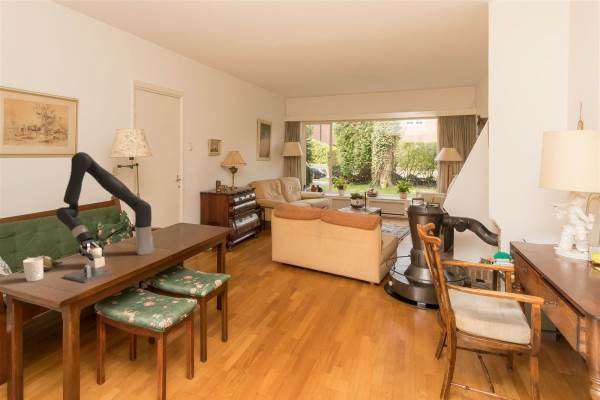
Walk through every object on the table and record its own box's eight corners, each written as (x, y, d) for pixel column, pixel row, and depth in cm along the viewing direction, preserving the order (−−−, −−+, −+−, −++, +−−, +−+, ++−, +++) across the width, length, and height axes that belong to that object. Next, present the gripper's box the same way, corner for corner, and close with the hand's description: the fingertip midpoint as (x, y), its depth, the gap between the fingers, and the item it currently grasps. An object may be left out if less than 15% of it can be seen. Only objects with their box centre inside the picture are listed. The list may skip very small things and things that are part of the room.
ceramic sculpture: (32, 251, 184) (63, 251, 187) (32, 266, 185) (63, 266, 188) (20, 257, 173) (53, 257, 177) (21, 273, 174) (54, 273, 178)
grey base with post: (90, 269, 182) (89, 258, 181) (111, 273, 176) (110, 262, 175) (63, 277, 169) (62, 266, 168) (85, 282, 163) (84, 270, 162)
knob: (98, 264, 191) (96, 246, 189) (104, 265, 189) (103, 247, 187) (88, 267, 186) (87, 248, 184) (95, 268, 183) (94, 249, 182)
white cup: (28, 277, 169) (26, 258, 168) (47, 275, 172) (45, 256, 171) (21, 282, 162) (19, 262, 161) (41, 281, 165) (39, 261, 163)
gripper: (72, 233, 181) (88, 258, 178) (97, 228, 194) (113, 251, 191) (66, 242, 184) (82, 266, 181) (91, 236, 197) (107, 258, 194)
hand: (98, 258), depth 186 cm, fingers closed on knob, 5 cm apart
